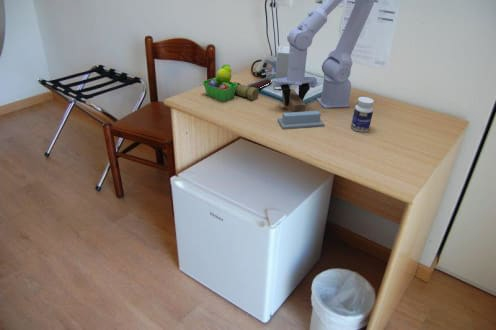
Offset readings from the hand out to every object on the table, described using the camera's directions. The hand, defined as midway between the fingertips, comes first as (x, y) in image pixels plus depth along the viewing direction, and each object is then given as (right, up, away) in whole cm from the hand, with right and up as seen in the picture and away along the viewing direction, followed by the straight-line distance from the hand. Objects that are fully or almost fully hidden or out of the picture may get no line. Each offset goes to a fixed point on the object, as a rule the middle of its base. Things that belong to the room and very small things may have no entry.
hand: (292, 104), depth 141 cm
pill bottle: (+20, -9, -11) cm, 25 cm away
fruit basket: (-25, +4, +8) cm, 27 cm away
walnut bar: (0, -1, +1) cm, 2 cm away
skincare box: (-2, +9, +18) cm, 20 cm away
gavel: (-12, +7, +14) cm, 20 cm away
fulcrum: (+1, -8, -9) cm, 12 cm away
